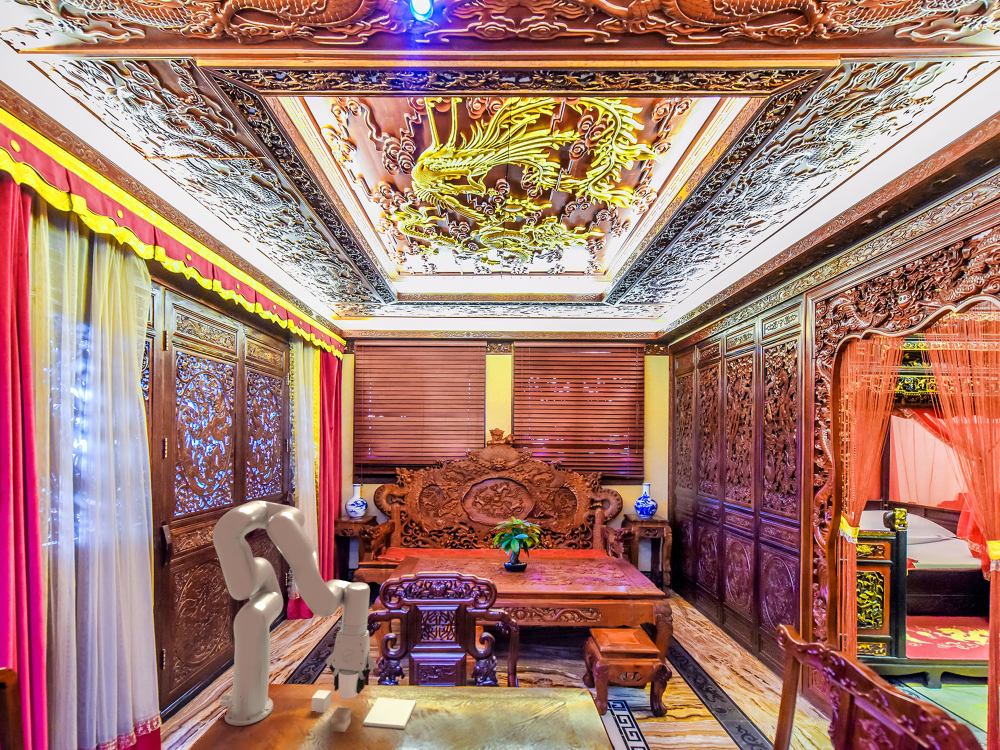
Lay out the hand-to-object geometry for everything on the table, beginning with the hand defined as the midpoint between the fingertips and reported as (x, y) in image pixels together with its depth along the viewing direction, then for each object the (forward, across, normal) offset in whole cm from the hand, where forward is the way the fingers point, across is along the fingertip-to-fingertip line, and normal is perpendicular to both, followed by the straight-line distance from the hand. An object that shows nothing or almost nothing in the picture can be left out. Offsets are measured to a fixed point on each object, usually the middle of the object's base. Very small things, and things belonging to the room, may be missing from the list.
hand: (348, 689), depth 143 cm
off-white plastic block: (+7, -8, 0) cm, 10 cm away
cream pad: (+6, +13, 0) cm, 14 cm away
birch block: (+6, +1, -7) cm, 10 cm away
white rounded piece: (+1, 0, 0) cm, 1 cm away
